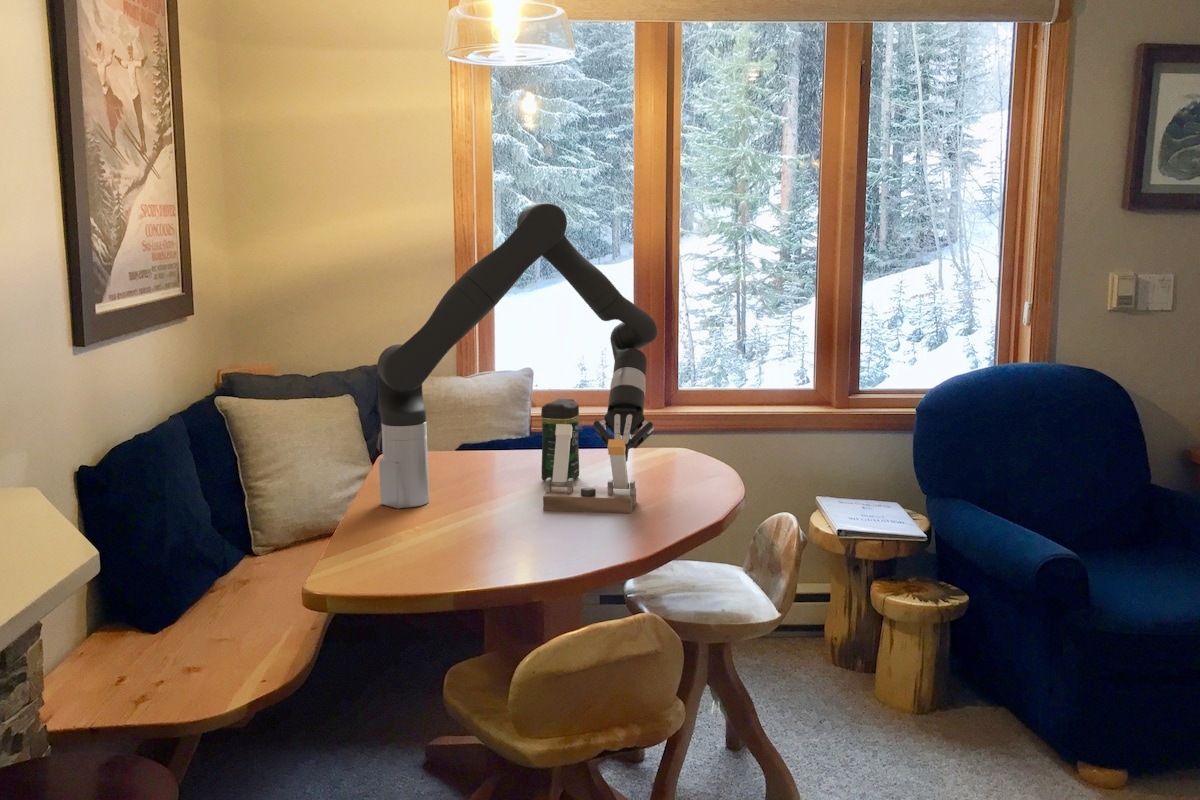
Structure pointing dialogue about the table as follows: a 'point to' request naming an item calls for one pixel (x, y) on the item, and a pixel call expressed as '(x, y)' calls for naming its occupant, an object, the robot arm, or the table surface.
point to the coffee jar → (550, 416)
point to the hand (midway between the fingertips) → (619, 462)
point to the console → (589, 498)
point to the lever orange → (618, 463)
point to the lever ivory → (561, 455)
